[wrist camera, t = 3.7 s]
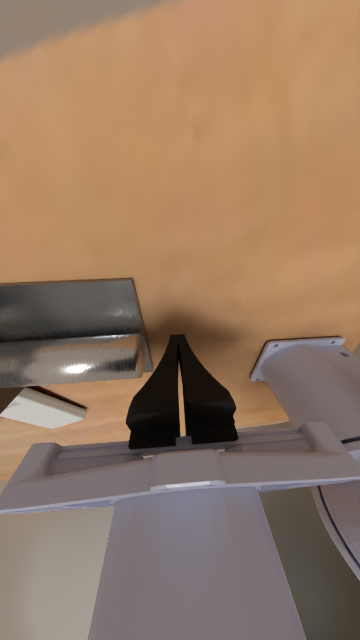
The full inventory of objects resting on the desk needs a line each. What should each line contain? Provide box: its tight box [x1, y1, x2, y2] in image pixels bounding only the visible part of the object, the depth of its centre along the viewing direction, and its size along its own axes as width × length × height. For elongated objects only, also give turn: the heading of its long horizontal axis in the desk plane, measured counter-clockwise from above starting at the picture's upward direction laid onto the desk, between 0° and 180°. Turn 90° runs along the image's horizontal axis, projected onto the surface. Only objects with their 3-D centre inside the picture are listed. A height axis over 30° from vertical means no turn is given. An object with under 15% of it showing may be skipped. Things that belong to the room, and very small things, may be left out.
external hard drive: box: [0, 387, 87, 429], centre depth 20 cm, size 2×8×12 cm
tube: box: [0, 333, 146, 388], centre depth 12 cm, size 18×4×4 cm, turn 92°
